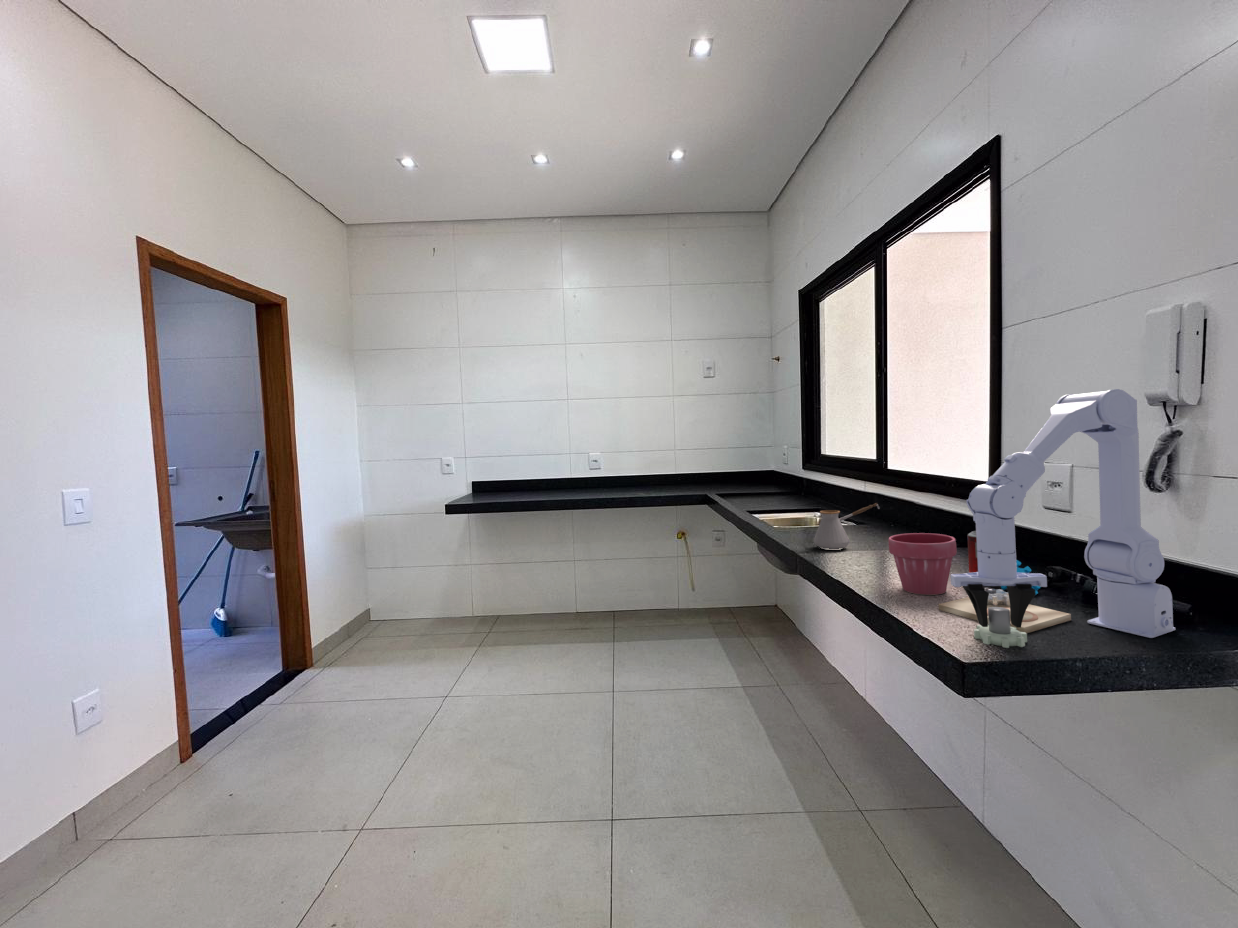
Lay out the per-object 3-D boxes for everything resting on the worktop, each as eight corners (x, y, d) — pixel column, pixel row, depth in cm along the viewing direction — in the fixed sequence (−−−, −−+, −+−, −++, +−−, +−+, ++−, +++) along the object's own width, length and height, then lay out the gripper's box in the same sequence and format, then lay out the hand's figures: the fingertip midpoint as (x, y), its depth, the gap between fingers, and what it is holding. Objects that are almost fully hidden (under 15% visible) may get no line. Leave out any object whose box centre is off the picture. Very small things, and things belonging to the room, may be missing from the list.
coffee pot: (816, 552, 175) (814, 507, 175) (811, 545, 186) (809, 503, 186) (886, 551, 170) (883, 505, 170) (876, 544, 182) (874, 501, 181)
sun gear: (1018, 602, 111) (1018, 590, 111) (997, 608, 108) (996, 595, 108) (985, 594, 117) (985, 583, 117) (964, 600, 114) (963, 588, 114)
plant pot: (877, 586, 133) (875, 536, 133) (925, 579, 136) (923, 530, 135) (921, 601, 119) (918, 545, 119) (973, 594, 122) (971, 539, 121)
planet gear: (1037, 642, 93) (1036, 611, 93) (1008, 651, 91) (1007, 619, 90) (992, 628, 101) (991, 600, 100) (964, 636, 98) (962, 607, 98)
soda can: (1006, 585, 126) (1004, 534, 126) (971, 583, 130) (968, 534, 129) (1001, 578, 133) (998, 529, 132) (967, 576, 136) (965, 529, 136)
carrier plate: (1071, 620, 102) (1070, 613, 102) (1024, 633, 97) (1024, 626, 97) (982, 598, 118) (982, 592, 118) (938, 609, 113) (938, 603, 113)
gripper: (959, 556, 93) (963, 632, 93) (1055, 554, 89) (1058, 633, 90) (945, 548, 100) (948, 619, 100) (1033, 546, 96) (1036, 620, 97)
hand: (999, 625), depth 95 cm, fingers open, 5 cm apart
